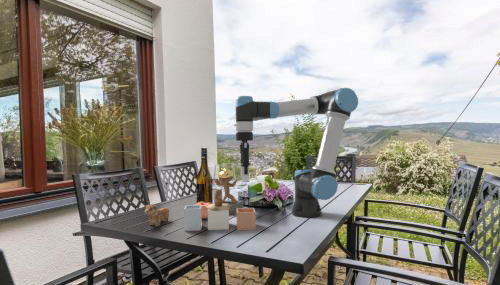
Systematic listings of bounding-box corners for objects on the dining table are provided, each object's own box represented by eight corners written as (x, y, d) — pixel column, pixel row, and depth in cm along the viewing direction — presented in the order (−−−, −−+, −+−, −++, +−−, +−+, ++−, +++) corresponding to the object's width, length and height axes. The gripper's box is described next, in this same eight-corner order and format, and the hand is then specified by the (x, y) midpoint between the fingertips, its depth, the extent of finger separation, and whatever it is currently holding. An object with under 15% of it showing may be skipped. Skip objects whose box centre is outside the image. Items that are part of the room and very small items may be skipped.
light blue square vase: (202, 227, 136) (201, 205, 136) (200, 231, 129) (200, 208, 129) (186, 227, 135) (185, 205, 135) (184, 232, 128) (183, 209, 128)
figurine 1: (139, 227, 136) (139, 205, 136) (162, 218, 151) (162, 199, 151) (151, 229, 134) (151, 206, 134) (173, 220, 149) (173, 199, 148)
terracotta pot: (254, 225, 137) (253, 207, 137) (255, 230, 129) (255, 212, 129) (236, 226, 137) (236, 208, 136) (237, 231, 129) (237, 212, 128)
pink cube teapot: (213, 220, 147) (212, 203, 146) (189, 220, 148) (189, 203, 148) (216, 216, 154) (216, 200, 154) (194, 216, 156) (193, 200, 156)
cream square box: (228, 224, 139) (228, 205, 139) (229, 230, 130) (228, 209, 130) (209, 225, 138) (208, 206, 138) (207, 231, 129) (207, 210, 129)
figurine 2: (243, 211, 165) (242, 165, 165) (240, 216, 154) (240, 167, 154) (218, 210, 166) (217, 165, 166) (213, 215, 156) (213, 167, 155)
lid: (229, 204, 139) (229, 187, 139) (230, 210, 129) (230, 191, 129) (207, 205, 138) (206, 188, 138) (205, 211, 128) (205, 192, 128)
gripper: (234, 132, 144) (235, 176, 145) (236, 130, 120) (237, 184, 120) (250, 132, 145) (250, 176, 145) (255, 130, 120) (256, 184, 120)
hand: (244, 180), depth 133 cm, fingers open, 13 cm apart
